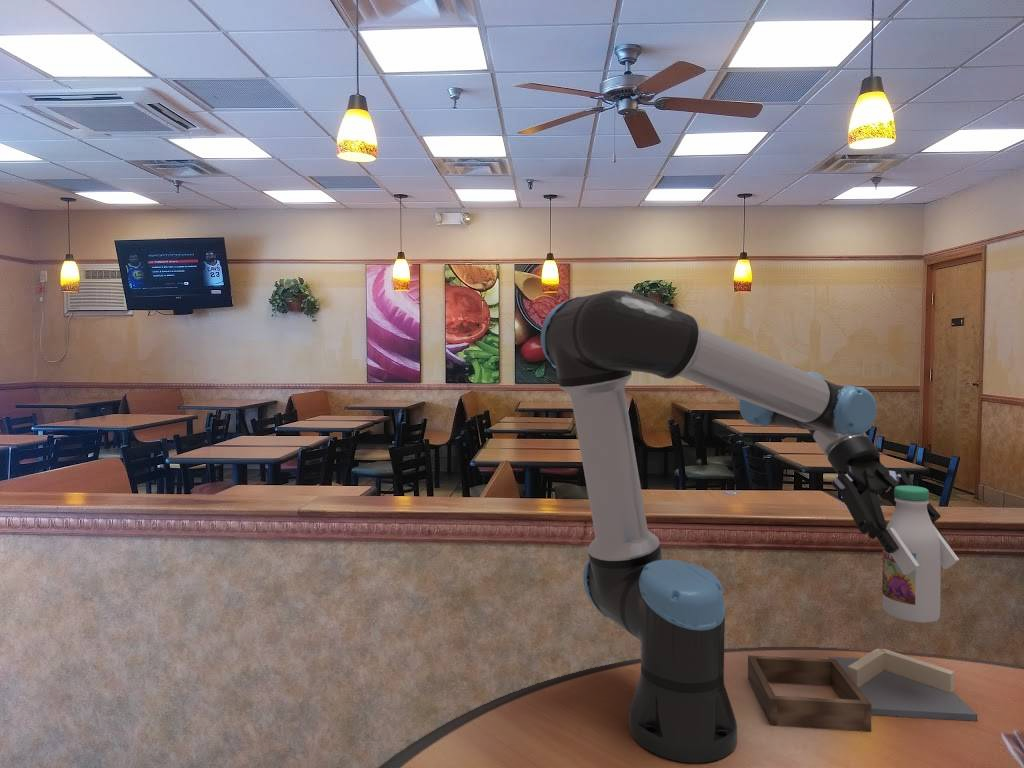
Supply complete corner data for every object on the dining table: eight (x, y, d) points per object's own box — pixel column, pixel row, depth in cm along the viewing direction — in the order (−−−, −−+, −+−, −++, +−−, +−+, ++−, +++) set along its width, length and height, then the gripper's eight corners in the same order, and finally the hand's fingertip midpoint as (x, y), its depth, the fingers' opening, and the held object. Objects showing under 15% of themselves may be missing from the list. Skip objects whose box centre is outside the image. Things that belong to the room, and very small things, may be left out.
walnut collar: (769, 725, 94) (769, 698, 94) (747, 678, 108) (747, 655, 108) (871, 731, 93) (871, 704, 92) (835, 683, 106) (835, 659, 106)
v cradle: (866, 714, 97) (866, 688, 97) (826, 662, 114) (826, 640, 114) (980, 721, 95) (980, 694, 95) (922, 666, 112) (922, 644, 112)
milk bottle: (923, 605, 104) (924, 482, 103) (951, 624, 97) (952, 492, 96) (873, 604, 105) (873, 482, 104) (897, 623, 97) (897, 492, 96)
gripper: (879, 456, 118) (964, 571, 103) (788, 463, 111) (865, 587, 97) (904, 430, 112) (998, 547, 97) (811, 436, 106) (895, 562, 91)
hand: (931, 567), depth 97 cm, fingers closed on milk bottle, 7 cm apart
